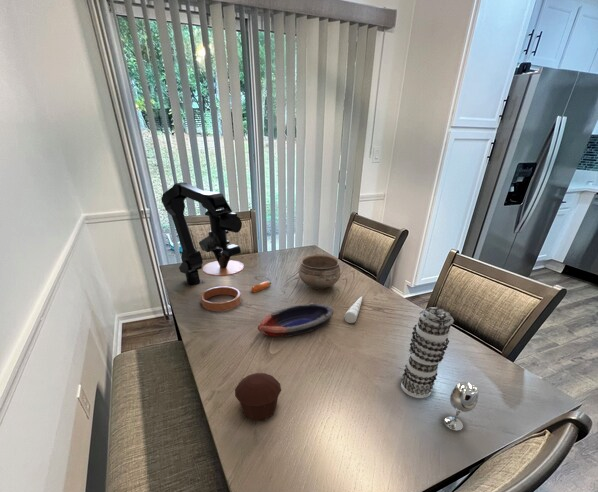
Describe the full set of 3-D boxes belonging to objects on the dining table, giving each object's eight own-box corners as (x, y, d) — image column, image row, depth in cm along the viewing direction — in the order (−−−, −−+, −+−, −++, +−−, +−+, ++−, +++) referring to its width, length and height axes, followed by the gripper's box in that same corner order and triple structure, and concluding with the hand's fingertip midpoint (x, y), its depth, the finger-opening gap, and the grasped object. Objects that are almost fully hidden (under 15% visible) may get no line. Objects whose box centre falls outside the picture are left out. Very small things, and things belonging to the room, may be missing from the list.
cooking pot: (351, 292, 144) (354, 266, 137) (315, 301, 136) (316, 274, 130) (322, 273, 162) (323, 249, 156) (288, 280, 155) (288, 255, 148)
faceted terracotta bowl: (194, 303, 134) (193, 294, 132) (225, 291, 144) (224, 283, 142) (217, 316, 125) (216, 307, 123) (248, 302, 135) (247, 294, 133)
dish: (342, 325, 120) (343, 314, 118) (266, 347, 108) (265, 335, 106) (320, 308, 132) (321, 297, 129) (249, 325, 120) (248, 314, 117)
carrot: (253, 294, 142) (254, 289, 140) (249, 291, 143) (250, 285, 141) (272, 287, 149) (273, 282, 147) (267, 283, 150) (268, 278, 148)
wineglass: (437, 415, 84) (449, 380, 77) (458, 414, 84) (472, 379, 78) (447, 433, 79) (462, 397, 72) (470, 431, 79) (486, 396, 73)
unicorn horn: (370, 298, 139) (371, 288, 136) (355, 325, 121) (356, 314, 118) (359, 296, 141) (361, 286, 138) (343, 322, 123) (344, 311, 120)
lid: (194, 270, 134) (192, 258, 131) (227, 259, 144) (225, 248, 142) (219, 281, 125) (217, 268, 122) (252, 269, 135) (251, 257, 132)
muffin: (243, 430, 79) (239, 401, 74) (232, 400, 88) (228, 372, 82) (288, 416, 83) (287, 387, 78) (273, 388, 92) (272, 361, 86)
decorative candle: (396, 376, 97) (413, 302, 83) (427, 377, 96) (449, 303, 83) (403, 398, 89) (423, 321, 75) (437, 399, 89) (463, 322, 75)
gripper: (186, 228, 125) (193, 266, 134) (215, 237, 115) (221, 278, 123) (210, 222, 132) (215, 259, 141) (239, 231, 122) (243, 270, 130)
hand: (223, 266), depth 134 cm, fingers closed on lid, 3 cm apart
